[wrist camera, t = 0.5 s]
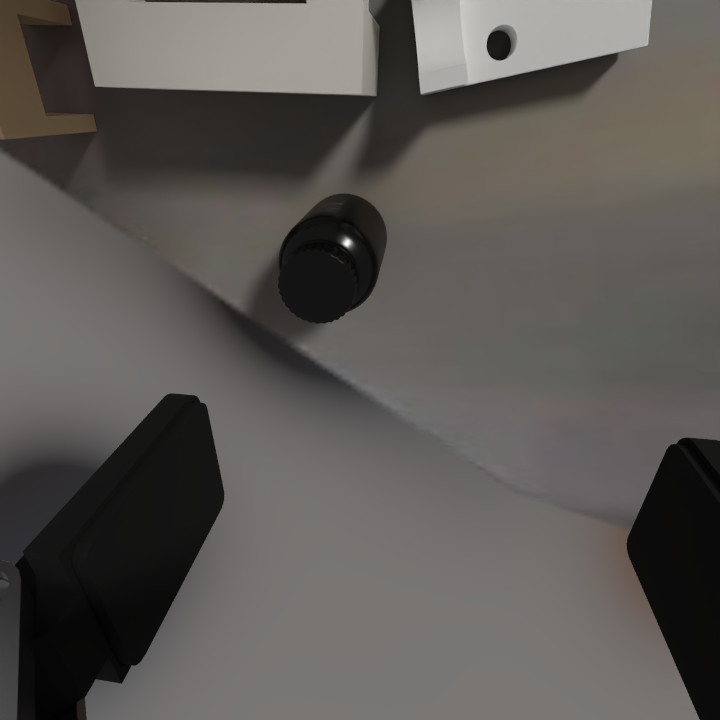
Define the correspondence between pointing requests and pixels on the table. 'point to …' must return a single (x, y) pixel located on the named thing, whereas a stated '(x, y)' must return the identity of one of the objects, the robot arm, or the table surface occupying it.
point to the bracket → (519, 36)
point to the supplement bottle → (332, 258)
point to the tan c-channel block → (30, 75)
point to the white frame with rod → (233, 46)
